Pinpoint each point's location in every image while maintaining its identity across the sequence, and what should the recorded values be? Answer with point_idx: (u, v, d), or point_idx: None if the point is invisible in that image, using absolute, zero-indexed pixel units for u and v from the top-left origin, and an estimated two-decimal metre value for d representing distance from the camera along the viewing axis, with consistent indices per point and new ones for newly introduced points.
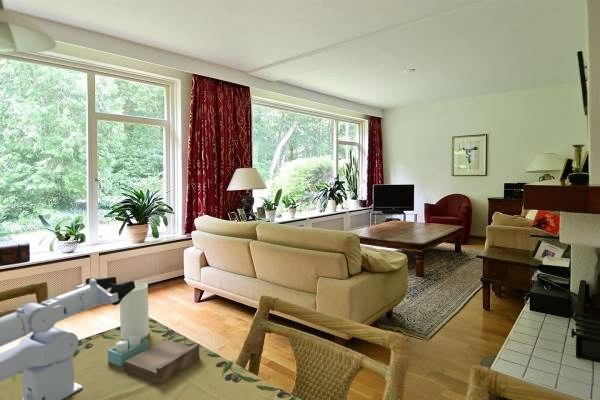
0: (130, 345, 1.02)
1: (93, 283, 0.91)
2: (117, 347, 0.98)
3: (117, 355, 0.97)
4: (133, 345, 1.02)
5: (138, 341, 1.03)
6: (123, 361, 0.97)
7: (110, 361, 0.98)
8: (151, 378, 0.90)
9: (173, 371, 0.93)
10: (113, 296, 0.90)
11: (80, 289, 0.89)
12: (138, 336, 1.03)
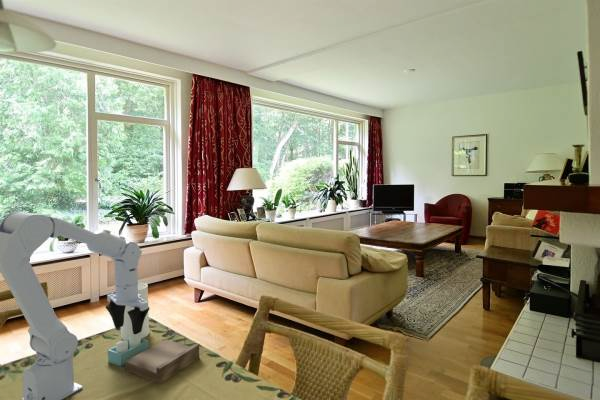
0: (130, 345, 1.02)
1: (138, 295, 1.03)
2: (117, 347, 0.98)
3: (117, 355, 0.97)
4: (133, 345, 1.02)
5: (138, 341, 1.03)
6: (123, 361, 0.97)
7: (110, 361, 0.98)
8: (151, 378, 0.90)
9: (173, 371, 0.93)
10: (147, 304, 0.98)
11: None
12: (138, 336, 1.03)
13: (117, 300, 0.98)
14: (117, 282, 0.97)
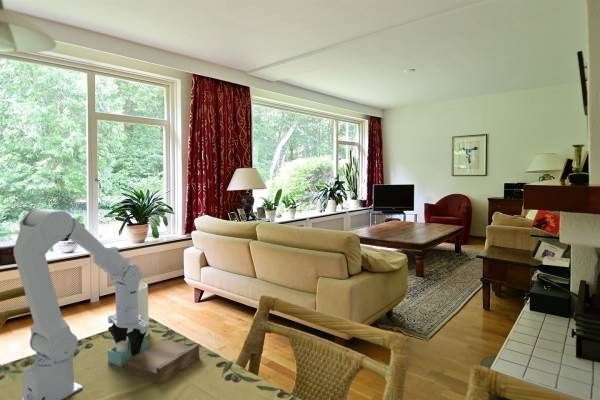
0: None
1: (139, 316, 1.03)
2: (117, 347, 0.98)
3: (117, 355, 0.97)
4: None
5: None
6: (123, 361, 0.97)
7: (110, 361, 0.98)
8: (151, 378, 0.90)
9: (173, 371, 0.93)
10: (147, 327, 0.98)
11: None
12: None
13: (118, 322, 0.98)
14: (118, 305, 0.98)
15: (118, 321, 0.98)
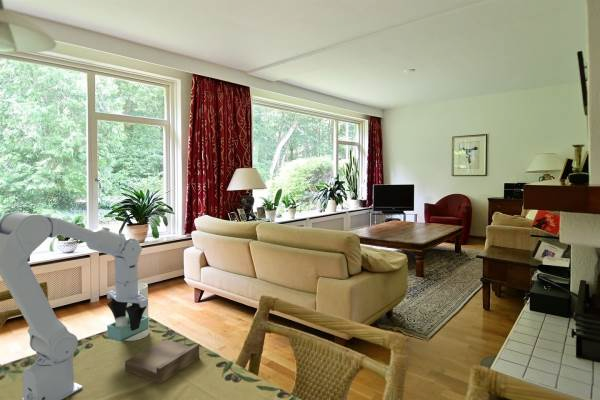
0: None
1: (138, 292, 1.03)
2: (117, 322, 0.98)
3: (117, 330, 0.96)
4: None
5: None
6: (123, 336, 0.97)
7: (110, 336, 0.98)
8: (151, 378, 0.90)
9: (173, 371, 0.93)
10: (147, 301, 0.98)
11: None
12: None
13: (117, 297, 0.98)
14: (117, 279, 0.97)
15: (117, 295, 0.98)
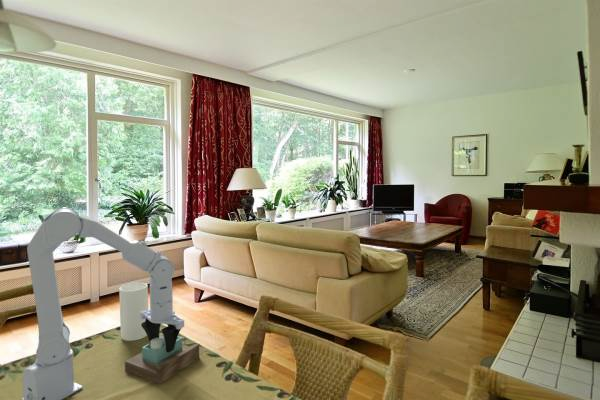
0: (164, 342, 0.99)
1: None
2: (152, 344, 0.95)
3: (152, 353, 0.94)
4: None
5: None
6: (159, 359, 0.94)
7: (145, 359, 0.95)
8: (151, 378, 0.90)
9: (173, 371, 0.93)
10: (183, 322, 0.95)
11: None
12: None
13: (152, 318, 0.95)
14: (150, 298, 0.95)
15: (153, 317, 0.95)
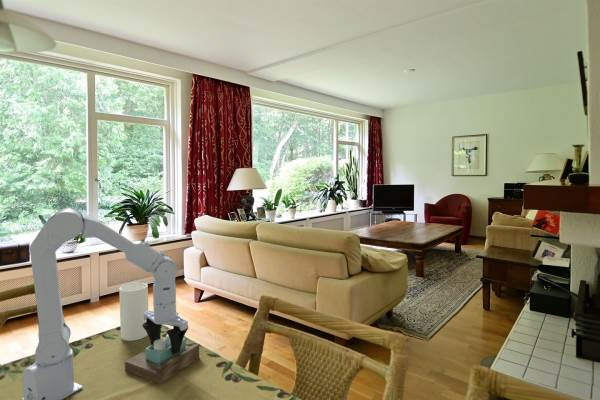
0: (167, 343, 0.98)
1: (175, 313, 0.99)
2: (155, 345, 0.94)
3: (156, 354, 0.93)
4: (170, 343, 0.98)
5: None
6: (162, 360, 0.93)
7: (148, 360, 0.95)
8: (151, 378, 0.90)
9: (173, 371, 0.93)
10: (187, 323, 0.94)
11: None
12: None
13: (156, 319, 0.94)
14: (153, 299, 0.95)
15: (156, 318, 0.94)
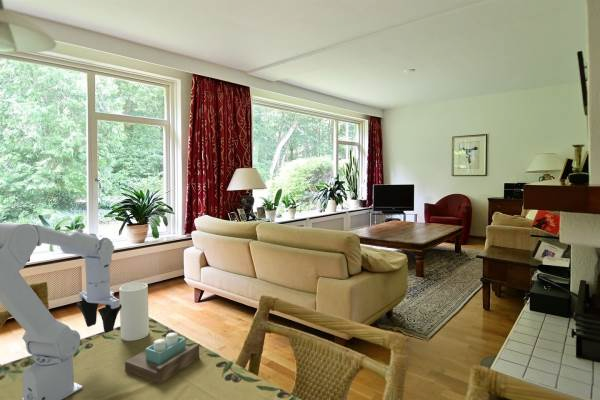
0: (167, 343, 0.98)
1: (111, 292, 1.00)
2: (155, 345, 0.94)
3: (156, 354, 0.93)
4: (170, 343, 0.98)
5: (175, 339, 0.99)
6: (162, 360, 0.93)
7: (148, 360, 0.95)
8: (151, 378, 0.90)
9: (173, 371, 0.93)
10: (118, 302, 0.95)
11: None
12: (175, 334, 1.00)
13: (88, 298, 0.95)
14: (90, 279, 0.95)
15: (88, 296, 0.95)
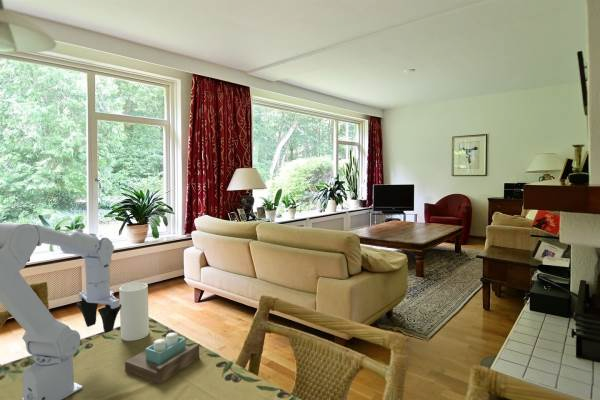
0: (167, 343, 0.98)
1: (110, 292, 1.00)
2: (155, 345, 0.94)
3: (156, 354, 0.93)
4: (170, 343, 0.98)
5: (175, 339, 0.99)
6: (162, 360, 0.93)
7: (148, 360, 0.95)
8: (151, 378, 0.90)
9: (173, 371, 0.93)
10: (118, 302, 0.95)
11: None
12: (175, 334, 1.00)
13: (87, 297, 0.95)
14: (90, 279, 0.95)
15: (88, 296, 0.95)
